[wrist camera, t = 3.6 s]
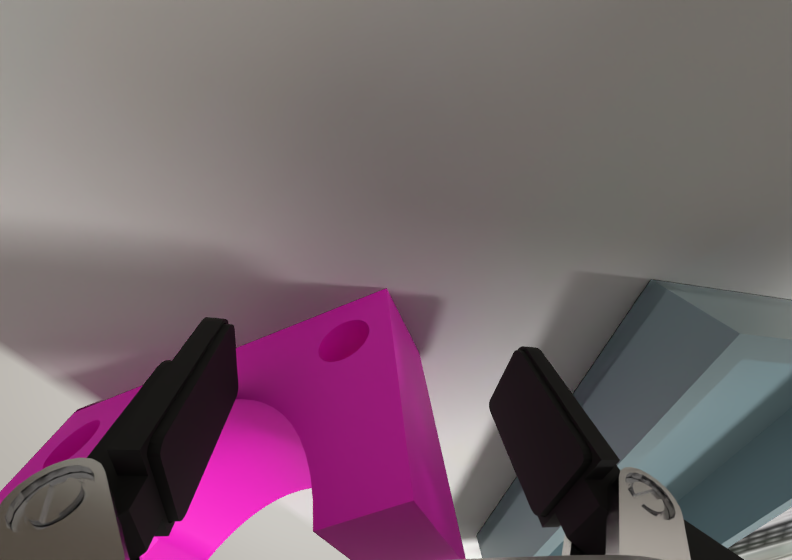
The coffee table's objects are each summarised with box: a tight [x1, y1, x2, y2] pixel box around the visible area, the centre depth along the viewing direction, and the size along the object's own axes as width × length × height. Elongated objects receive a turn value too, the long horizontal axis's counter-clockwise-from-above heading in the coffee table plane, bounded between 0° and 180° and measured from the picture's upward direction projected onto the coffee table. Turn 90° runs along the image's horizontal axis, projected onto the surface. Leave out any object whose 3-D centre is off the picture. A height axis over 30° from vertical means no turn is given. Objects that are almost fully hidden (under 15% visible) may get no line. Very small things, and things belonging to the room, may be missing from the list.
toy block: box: [0, 288, 466, 560], centre depth 11 cm, size 15×6×8 cm, turn 112°
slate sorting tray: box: [477, 279, 792, 558], centre depth 18 cm, size 14×23×4 cm, turn 169°
